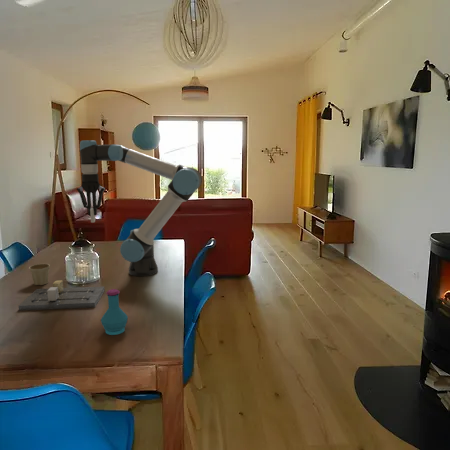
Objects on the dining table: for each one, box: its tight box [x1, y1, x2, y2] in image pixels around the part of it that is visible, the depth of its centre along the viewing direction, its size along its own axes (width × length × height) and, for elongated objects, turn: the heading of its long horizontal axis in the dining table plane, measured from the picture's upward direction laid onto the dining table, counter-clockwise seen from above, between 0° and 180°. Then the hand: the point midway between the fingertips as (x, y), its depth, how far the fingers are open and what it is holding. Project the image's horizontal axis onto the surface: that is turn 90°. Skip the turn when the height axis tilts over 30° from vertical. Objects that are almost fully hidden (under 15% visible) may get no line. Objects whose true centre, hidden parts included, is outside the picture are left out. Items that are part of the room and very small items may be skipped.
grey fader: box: [47, 286, 59, 301], centre depth 166 cm, size 3×4×4 cm
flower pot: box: [28, 263, 51, 286], centre depth 193 cm, size 9×9×9 cm
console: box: [18, 286, 105, 311], centre depth 172 cm, size 30×20×2 cm, turn 96°
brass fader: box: [52, 279, 64, 293], centre depth 175 cm, size 3×4×4 cm
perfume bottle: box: [100, 288, 129, 336], centre depth 141 cm, size 9×9×15 cm
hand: (93, 221), depth 194 cm, fingers closed
